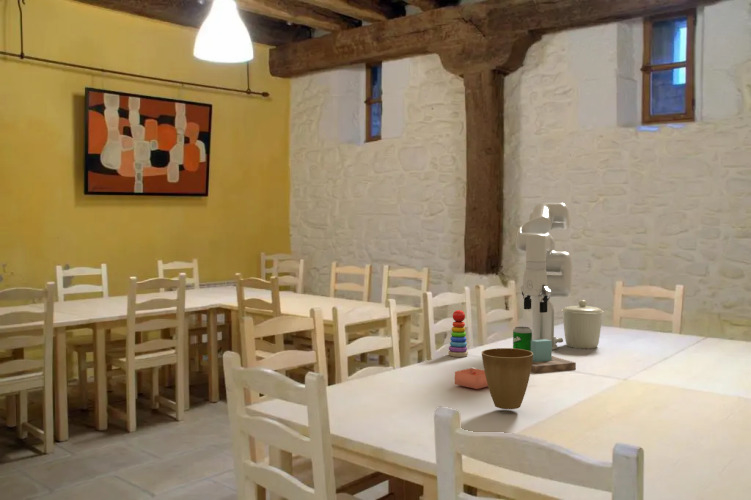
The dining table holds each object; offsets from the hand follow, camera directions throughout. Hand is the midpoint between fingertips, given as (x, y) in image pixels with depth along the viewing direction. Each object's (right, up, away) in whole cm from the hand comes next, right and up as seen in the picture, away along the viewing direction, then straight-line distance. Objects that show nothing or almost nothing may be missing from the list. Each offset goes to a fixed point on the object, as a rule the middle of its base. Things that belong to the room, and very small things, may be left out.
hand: (535, 310), depth 263 cm
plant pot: (-23, -23, -62) cm, 70 cm away
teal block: (+1, -21, -3) cm, 21 cm away
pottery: (-25, -22, -30) cm, 45 cm away
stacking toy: (-28, -20, +18) cm, 39 cm away
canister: (+29, -20, +38) cm, 52 cm away
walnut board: (+1, -21, -4) cm, 21 cm away
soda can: (-2, -20, +16) cm, 26 cm away
